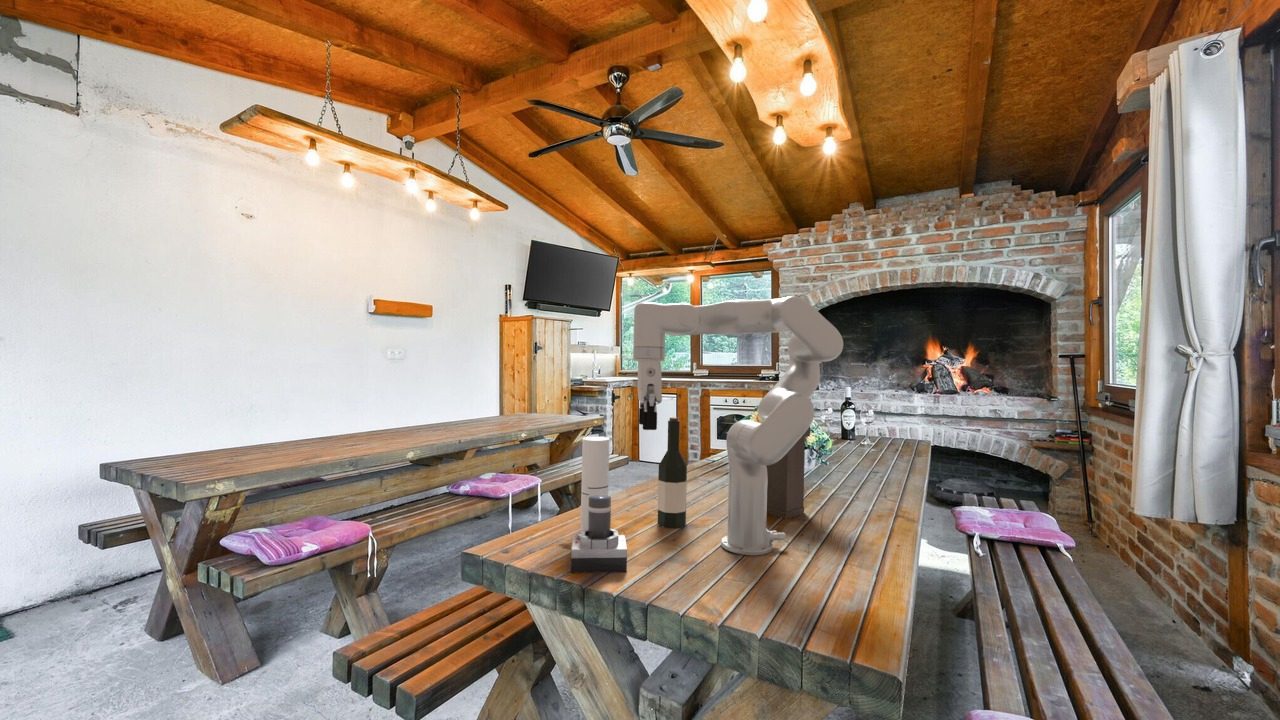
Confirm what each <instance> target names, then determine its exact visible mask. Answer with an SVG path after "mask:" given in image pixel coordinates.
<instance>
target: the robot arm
mask: <svg viewBox="0 0 1280 720" xmlns="http://www.w3.org/2000/svg"><path fill="white" fill-rule="evenodd" d="M633 313H634V314H633V347H632V348H633V349H632V350H633V351H632V352H633V353H632V361H635V362H637V396H638V397H637V398H638V401H639V409H638V424H639V425H642V430H644V431H656V430H657V429H658V428H657V425H658V412H657V410H658V409H657V404H661V403H662V399H663V395H662V391H663V390H662V385H663V384H662V378H663V377H662V363H661V362H665V359H666V358H665V357H666V356H665V355H666V352H665V351H666V348H665V347H666V335H668V336H670V337H676V336H677V337H678V336H699V335H722V336H723V335H724V336H727V335H729V336H730V335H731V336H732V335H749V334H751V335H752V334H753V335H754V334H770V333H772V334H773V333H774V334H775V333H784V332H791V333H792V335H791V336H790V337H789V340H788V344H787V349H788V356H789V365H788V367H787V370H786V372H785V373H784V374H783V375H782V377H781V378H780V379H779V380H778V381H777V382H776V383H775V385H773V387H772V388H771V389H770V390H769V391H768V392H767V393H766V394H765V395H764V396H762V399H761V400H760V402H759V403H758V407H757V413H758V416H759V419H761V421H762V422H759V421H756V420H752V419H742V420H738V421H736V422H734V423H733V424H732V425H731V427H730V428H729V430H728V431H727V434H726V451H727V460H728V491H727V492H728V495H727V497H728V498H727V501H728V502H727V535H725V536H723V537H722V538H721V541H720V545H721V547H722V548H723V549H724V550H726V551H729V552H731V553H734V554H738V555H744V556H762V555H766V554H770V552H772V551H773V542H774V541H778V542H780V541H781V542H782V541H786V539H787V537H786V536H787V535H786V533H785V532H777V530H769V529H768V528H767V515H768V514H767V484H768V477H767V467H766V465H772V464H774V463H776V462H778V461H779V460H780V459H781V458H782V457H784V455H785V454H786V453H787V452H788V451H789V450H790V449H791V448H792V447H793V446H794V444H795V443H796V442H797V441H798V440H799V439H800V438H801V437H802V435H803V434H804V433H805V432H806V431H807V430H808V428H809V427H810V428H811V425H812V422H813V420H814V418H815V406H814V404H813V402H812V400H810V399H811V396H813V394H814V392H815V391H816V390H817V388H818V387H819V384H820V378H821V377H820V376H821V369H820V362H824V363H825V362H831V361H833V360H835V359H837V358H838V357H839V356H840V355H841V353H842V351H843V348H844V339H843V337H842V335H841V333H840V331H839V330H838V328H836V327H835V325H833V324H832V323H831V322H830V321H829V320H828V319H826V318H825V316H823V315H822V313H820V312H819V311H818V310H817V309H816V308H815V307H813V305H811V304H810V303H809V302H808V301H806V300H805V299H803V298H801V297H799V296H795V295H790V296H789V295H788V296H786V297H781V298H769V299H767V298H765V299H763V298H762V299H734V300H733V299H731V300H725V301H721V302H717V303H712V304H705V305H704V304H703V305H692V304H691V303H687V302H679V303H678V302H677V303H667V304H665V303H664V304H662V303H658V302H639V303H637V304H636V305H635V306H634V310H633Z"/></svg>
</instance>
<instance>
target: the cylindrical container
mask: <svg viewBox="0 0 1280 720" xmlns="http://www.w3.org/2000/svg"><path fill="white" fill-rule="evenodd" d="M581 441H582V446H581V447H582V448H581V451H582V452H581V454H582V455H581V486H580V487H581V493H580V495H581V496H580V501H581V502H580V532H581V531H582V530H585V529H588V505H589V497H590V496H593V495H607V496H609V475H610V474H609V472H610V471H609V469H610V438H609V437H606V436H584V437H582V440H581Z"/></svg>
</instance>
